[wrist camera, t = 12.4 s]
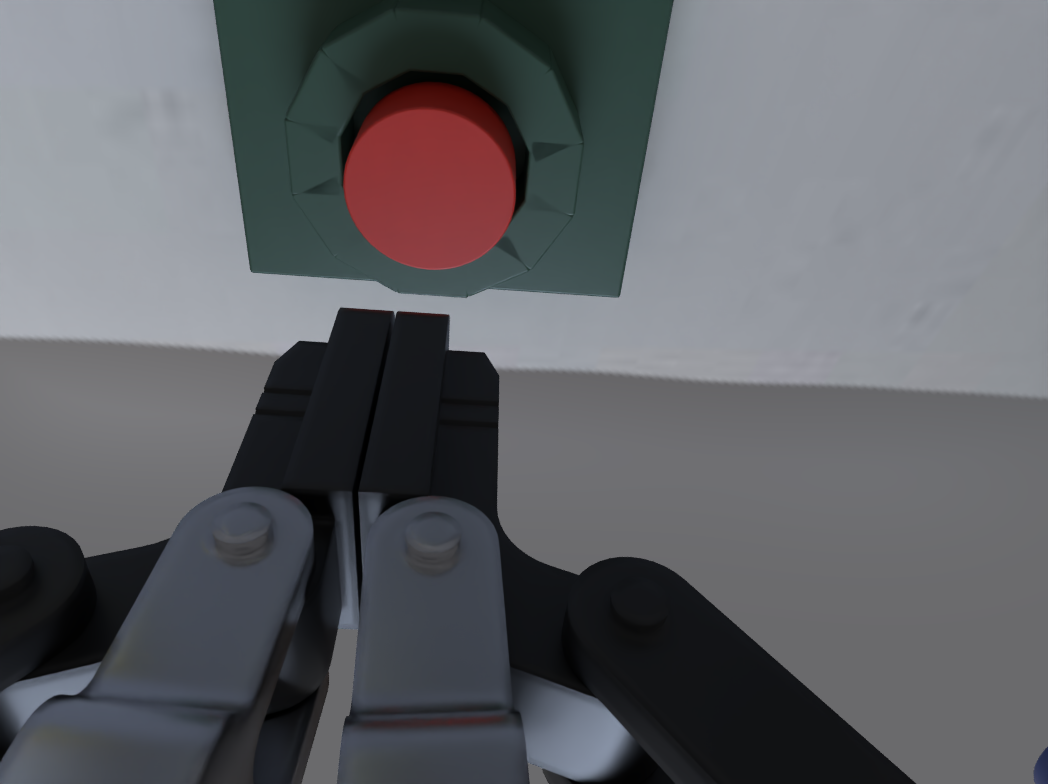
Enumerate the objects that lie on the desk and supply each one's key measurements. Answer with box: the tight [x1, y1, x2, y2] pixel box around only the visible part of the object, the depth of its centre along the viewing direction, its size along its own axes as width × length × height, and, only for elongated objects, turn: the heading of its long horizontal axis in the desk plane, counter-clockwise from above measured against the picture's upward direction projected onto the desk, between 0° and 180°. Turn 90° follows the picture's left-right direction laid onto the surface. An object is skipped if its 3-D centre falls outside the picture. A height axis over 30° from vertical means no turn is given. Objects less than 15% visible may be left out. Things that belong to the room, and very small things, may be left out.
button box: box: [213, 0, 674, 298], centre depth 19 cm, size 10×8×4 cm
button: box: [343, 82, 516, 270], centre depth 17 cm, size 4×4×2 cm
